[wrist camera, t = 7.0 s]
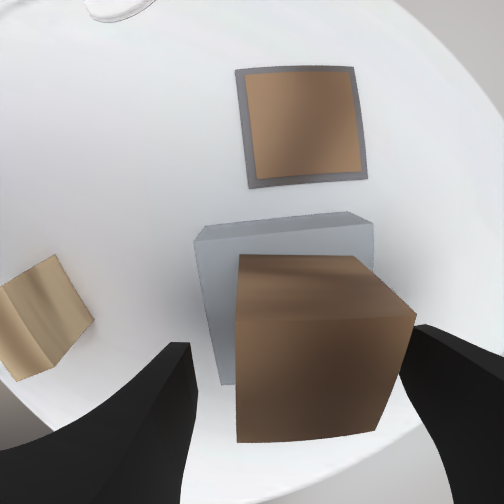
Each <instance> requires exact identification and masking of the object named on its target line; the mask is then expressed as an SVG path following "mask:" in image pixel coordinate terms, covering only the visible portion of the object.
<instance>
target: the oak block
mask: <svg viewBox="0 0 504 504" xmlns="http://www.w3.org/2000/svg"><path fill="white" fill-rule="evenodd" d="M93 321H94V318H93V317H92V315H91V314H90V312H89V311H88V309H87V308H86V306H85V304H84V303H83V301H82V300H81V298H80V297H79V295H78V293H77V292H76V290H75V288H74V287H73V285H72V283H71V282H70V280H69V278H68V276H67V275H66V273H65V271H64V269H63V268H62V266H61V264H60V262H59V260H58V258H57V257H56V255H54V256H52V257H50V258H48V259H46V260H45V261H43V262H41V263H39V264H37V265H36V266H34V267H32V268H31V269H29V270H27V271H25V272H24V273H22V274H20V275H19V276H17V277H15V278H14V279H12V280H10V281H9V282H7V283H6V284H4V285H2V286H1V287H0V360H1V362H2V363H3V365H4V366H5V367H6V369H7V370H8V372H9V373H10V374H11V376H12V377H13V378H14V380H15V381H16V382H18V381H20V380H23V379H25V378H28V377H31V376H33V375H36V374H38V373H41V372H43V371H46V370H48V369H51V368H53V367H55V366H56V365H57V363H58V362H59V361H60V360H61V358H62V357H63V356H64V355H65V353H66V352H67V351H68V350H69V349H70V347H71V346H72V345H73V344H74V343H75V342H76V340H77V339H78V338H79V337H80V336H81V334H82V333H83V332H84V331H85V330H86V329H87V327H88V326H89V325H90V324H91V323H92V322H93Z"/></svg>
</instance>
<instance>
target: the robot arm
mask: <svg viewBox="0 0 504 504" xmlns="http://www.w3.org/2000/svg"><path fill="white" fill-rule="evenodd" d="M399 376H400V378H401V381H402V384H403V386H404V389H405V391H406V393H407V396H408V398H409V399H410V401H411V403H412V405H413V406H414V408H415V410H416V412H417V413H418V415H419V417H420V418H421V420H422V422H423V424H424V425H425V427H426V429H427V431H428V432H429V434H430V436H431V438H432V439H433V441H434V443H435V445H436V447H437V449H438V452H439V454H440V457H441V460H442V462H443V465H444V468H445V471H446V474H447V477H448V481H449V484H450V488H451V492H452V497H453V501H454V504H504V357H502V356H499V355H497V354H494V353H492V352H489V351H487V350H485V349H482V348H480V347H478V346H476V345H473V344H471V343H469V342H467V341H465V340H463V339H460V338H458V337H456V336H454V335H452V334H450V333H447V332H445V331H443V330H440V329H438V328H435V327H433V326H430V325H427V324H424V325H418V326H413V330H412V333H411V337H410V340H409V343H408V347H407V350H406V353H405V356H404V359H403V362H402V365H401V368H400V371H399ZM197 399H198V388H197V382H196V376H195V371H194V365H193V359H192V352H191V346H190V343H189V342H170V343H169V344H168V345H167V346H166V347H165V348H164V349H163V350H162V351H161V352H160V353H159V354H158V355H157V356H156V357H155V358H154V359H153V360H152V361H151V362H150V363H149V364H148V365H147V366H146V367H145V368H143V369H142V370H141V371H140V372H139V373H138V374H137V375H136V376H135V377H134V378H133V379H132V380H131V381H129V382H128V383H127V384H126V385H125V386H123V387H122V388H121V389H120V390H118V391H117V392H116V393H115V394H114V395H112V396H111V397H110V398H109V399H107V400H106V401H105V402H103V403H102V404H101V405H99V406H98V407H96V408H95V409H93V410H92V411H90V412H89V413H87V414H86V415H84V416H83V417H81V418H79V419H78V420H76V421H74V422H72V423H70V424H68V425H66V426H64V427H62V428H60V429H59V430H57V431H55V432H53V433H51V434H49V435H46V436H44V437H42V438H39V439H37V440H34V441H31V442H29V443H26V444H23V445H20V446H17V447H14V448H10V449H6V450H2V451H0V504H180V494H181V484H182V478H183V473H184V468H185V464H186V459H187V455H188V450H189V446H190V442H191V437H192V433H193V428H194V424H195V419H196V410H197Z"/></svg>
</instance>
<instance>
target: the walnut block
mask: <svg viewBox="0 0 504 504" xmlns="http://www.w3.org/2000/svg"><path fill="white" fill-rule="evenodd" d="M416 316H417V314H416V313H415V312H414V311H413V310H412V309H411V308H410V307H409V306H408V305H407V304H406V303H405V302H404V301H403V300H402V299H401V298H400V297H399V296H398V295H396V294H395V293H394V292H393V291H392V290H391V289H390V288H389V287H388V286H387V285H386V284H385V283H384V282H382V281H381V280H380V279H379V278H378V277H377V276H376V275H375V274H374V273H373V272H372V271H370V270H369V269H368V268H367V267H366V266H365V265H364V264H363V263H361V262H360V261H359V260H358V259H357V258H356V257H355V256H338V255H262V254H239V267H238V281H237V297H236V312H235V378H236V432H237V443H270V442H291V441H305V440H315V439H325V438H333V437H340V436H347V435H353V434H359V433H365V432H370V431H375V429H376V427H377V425H378V423H379V420H380V418H381V416H382V414H383V411H384V409H385V407H386V404H387V402H388V399H389V397H390V394H391V392H392V389H393V387H394V384H395V381H396V379H397V376H398V373H399V370H400V368H401V365H402V362H403V359H404V356H405V353H406V350H407V347H408V343H409V340H410V337H411V333H412V330H413V326H414V323H415V319H416Z"/></svg>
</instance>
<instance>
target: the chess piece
mask: <svg viewBox="0 0 504 504" xmlns="http://www.w3.org/2000/svg"><path fill="white" fill-rule="evenodd" d="M153 1H154V0H84V5H85V8H86V10H87V12H88V13H89V15H90V16H91V17H92V18H93V19H95V20H97V21H100V22H115V21H119V20H123V19H126V18H128V17H131V16H133V15H135V14H137V13H138V12H140V11H142V10H143V9H145V8H146V7H147V6H149V5H150V4H151V3H152V2H153Z"/></svg>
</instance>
